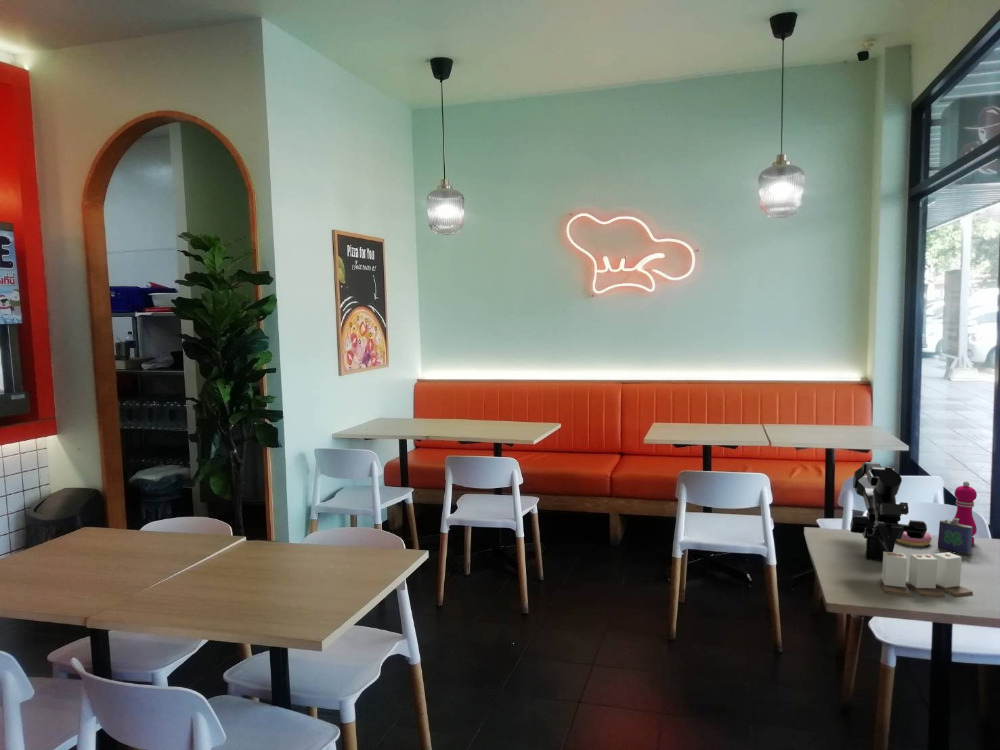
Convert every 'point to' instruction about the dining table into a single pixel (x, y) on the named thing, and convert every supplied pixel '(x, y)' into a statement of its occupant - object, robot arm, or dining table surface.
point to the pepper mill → (965, 506)
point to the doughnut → (915, 540)
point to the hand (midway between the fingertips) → (890, 554)
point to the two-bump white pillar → (922, 571)
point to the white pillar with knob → (948, 569)
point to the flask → (955, 537)
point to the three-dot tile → (894, 569)
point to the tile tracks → (925, 590)
